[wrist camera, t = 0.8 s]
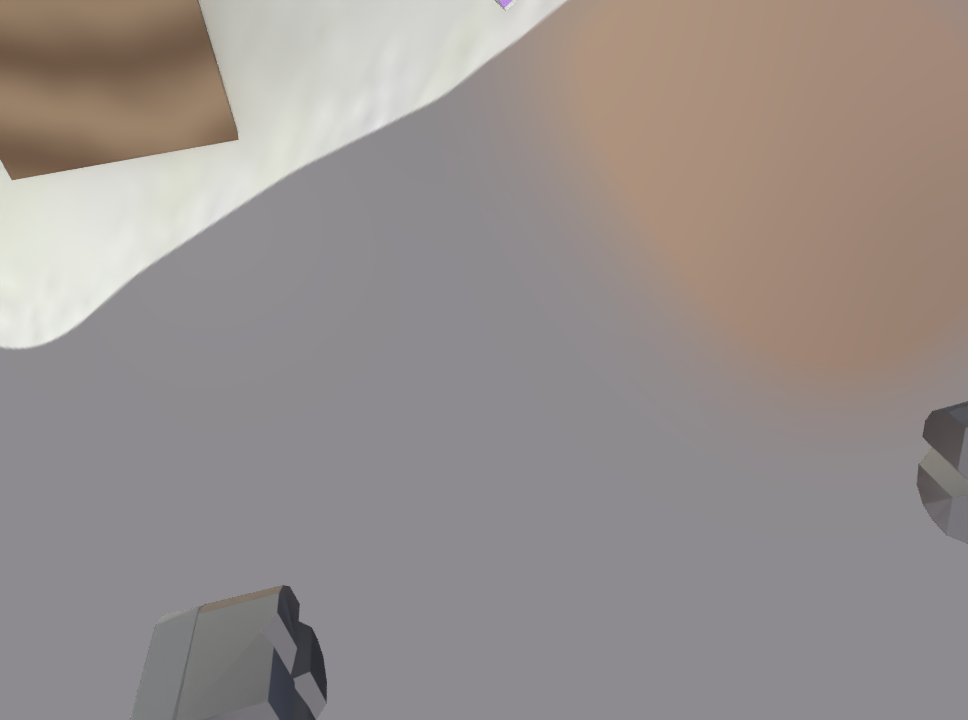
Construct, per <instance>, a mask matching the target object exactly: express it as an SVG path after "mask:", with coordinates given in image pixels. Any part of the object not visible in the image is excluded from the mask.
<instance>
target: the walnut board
mask: <svg viewBox="0 0 968 720" xmlns="http://www.w3.org/2000/svg"><path fill="white" fill-rule="evenodd" d="M234 140H238V132H237V128H236V125H235V122H234V118H233V115H232V112H231V108H230V105H229V102H228V98H227V95H226V92H225V88H224V85H223V82H222V78H221V75H220V72H219V68H218V65H217V62H216V58H215V55H214V52H213V48H212V45H211V42H210V38H209V35H208V32H207V28H206V25H205V22H204V18H203V15H202V12H201V8H200V5H199V2H198V0H0V159H1V161H2V163H3V165H4V167H5V168H6V170H7V172H8V174H9V176H10V178H11V179H12V180H16V179H21V178H27V177H32V176H38V175H44V174H49V173H55V172H60V171H66V170H72V169H77V168H83V167H88V166H94V165H100V164H105V163H111V162H116V161H122V160H128V159H133V158H139V157H144V156H150V155H155V154H161V153H167V152H172V151H178V150H183V149H189V148H195V147H200V146H206V145H211V144H217V143H223V142H228V141H234Z"/></svg>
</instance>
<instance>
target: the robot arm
mask: <svg viewBox="0 0 968 720" xmlns="http://www.w3.org/2000/svg"><path fill="white" fill-rule="evenodd" d="M923 438H924V439H925V440H926V441H927V442H928V443H929V444H930V445H931V446H932V448H931V449H930V451H929V452H928V453H927V454H926V455H925V457H924V458H923V459H922V460H921V462H920V463H919V464H918V465H919V466H918V477H917V487H918V490H919V493H920V497H921V500H922V503H923V506H924V507H925V509H926V510H927V512H928V514H929V515H930V517H931V519H932V520H933V521H934V522H935V523H936V524H937V526H938V527H939V528H940V529H941V530H942V531H943V532H944V533H945V534H946V535H947V536H950V537H952V538H955V539H957V540H960V541H962V542H965V543H967V544H968V401H967V402H963V403H960V404H956V405H952V406H949V407H945V408H942V409H938V410H934V411H932V412H931V413H930V415H929V416H928V418H927V419H926V420H925V425H924V431H923ZM299 607H300V604H299V602H298V600H297V598H296V596H295V595H294V593H293V591H292V589H291V588H290V586H285V585H282V586H278V587H274V588H270V589H266V590H262V591H257V592H253V593H249V594H245V595H241V596H237V597H232V598H228V599H224V600H220V601H216V602H212V603H208V604H205V605H203V606H199V607H195V608H191V609H187V610H182V611H178V612H174V613H170V614H165V615H164V616H163V617H162V618H161V619H160V621H159V622H158V623H157V624H156V626H155V628H154V632H153V635H152V639H151V643H150V647H149V650H148V654H147V658H146V662H145V666H144V669H143V673H142V677H141V680H140V684H139V688H138V691H137V695H136V699H135V702H134V706H133V710H132V714H131V717H130V720H316V719H317V718H318V716H319V715H320V713H321V712H322V710H323V708H324V707H325V705H326V704H327V679H326V672H325V665H324V658H323V654H322V651H321V648H320V645H319V642H318V639H317V637H316V635H315V633H314V631H313V629H312V627H310V626H308V625H306V624H304V623H302V622H299Z"/></svg>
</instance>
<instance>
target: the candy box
mask: <svg viewBox="0 0 968 720" xmlns="http://www.w3.org/2000/svg"><path fill="white" fill-rule="evenodd" d="M495 1H496V2H497V3H498V4H499V5H500V6H501V7H502V8H503V9H504V10H506V11H507V10H508V9H509V8H510V7H511V6H512V5H513V4H515V3H516V2H517V1H518V0H495Z"/></svg>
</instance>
